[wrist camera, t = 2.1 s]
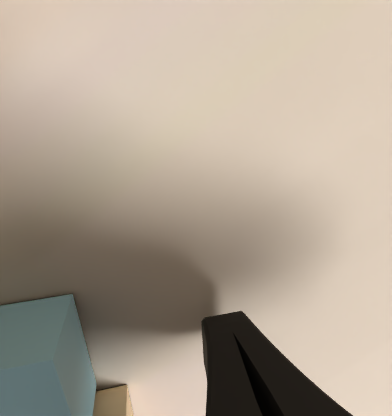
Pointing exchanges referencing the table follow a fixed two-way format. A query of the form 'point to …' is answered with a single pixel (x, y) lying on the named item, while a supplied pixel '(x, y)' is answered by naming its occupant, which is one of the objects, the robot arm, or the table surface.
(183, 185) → the table surface
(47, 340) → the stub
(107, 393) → the cream usb hub
